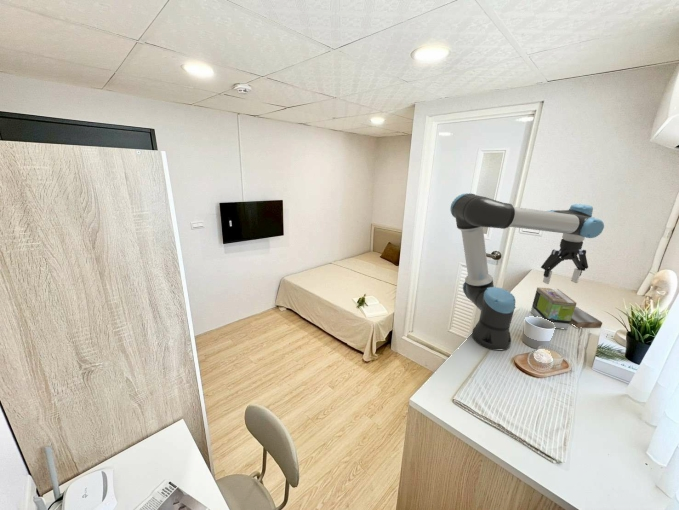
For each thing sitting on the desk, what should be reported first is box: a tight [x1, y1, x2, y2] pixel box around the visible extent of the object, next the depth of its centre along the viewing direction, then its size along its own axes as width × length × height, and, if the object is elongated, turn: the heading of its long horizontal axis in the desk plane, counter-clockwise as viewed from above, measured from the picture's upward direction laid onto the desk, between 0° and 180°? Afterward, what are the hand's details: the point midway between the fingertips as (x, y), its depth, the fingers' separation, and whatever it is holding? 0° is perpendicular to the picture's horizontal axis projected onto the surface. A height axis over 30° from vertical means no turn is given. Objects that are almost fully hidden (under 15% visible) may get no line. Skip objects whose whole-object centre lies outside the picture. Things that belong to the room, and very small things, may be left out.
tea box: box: [530, 286, 577, 330], centre depth 128 cm, size 15×10×15 cm
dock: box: [570, 306, 603, 329], centre depth 131 cm, size 12×17×3 cm
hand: (559, 282), depth 123 cm, fingers open, 13 cm apart
